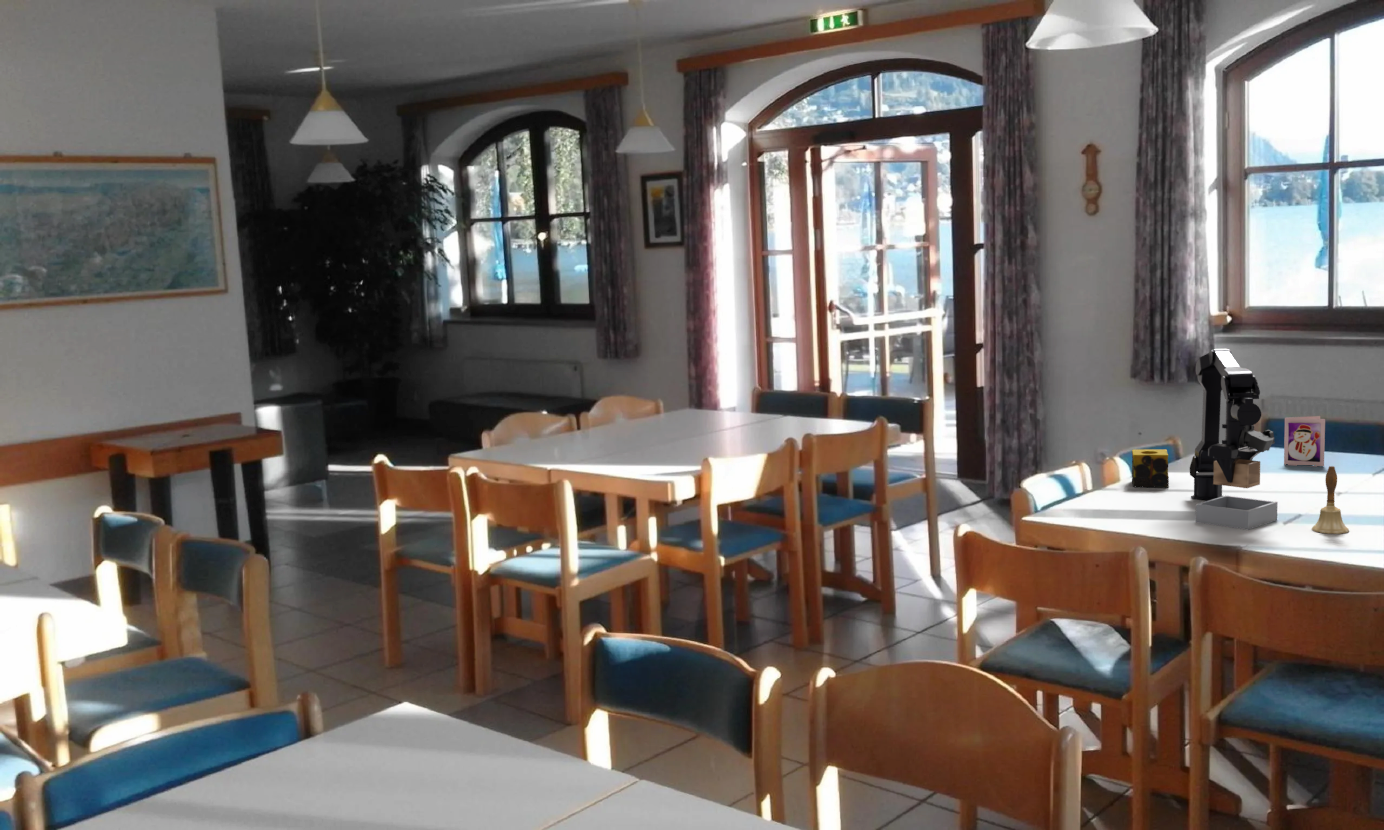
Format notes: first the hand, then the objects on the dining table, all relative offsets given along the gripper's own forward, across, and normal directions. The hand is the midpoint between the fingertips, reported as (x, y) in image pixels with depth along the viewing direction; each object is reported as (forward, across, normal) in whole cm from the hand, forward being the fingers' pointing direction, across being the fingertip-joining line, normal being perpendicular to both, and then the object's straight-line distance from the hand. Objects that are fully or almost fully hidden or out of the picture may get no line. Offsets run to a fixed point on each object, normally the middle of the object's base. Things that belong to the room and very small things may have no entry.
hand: (1236, 480), depth 333 cm
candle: (+11, +30, +42) cm, 53 cm away
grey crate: (+11, 0, 0) cm, 11 cm away
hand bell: (+11, +4, -22) cm, 25 cm away
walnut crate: (+1, 0, 0) cm, 1 cm away
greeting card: (+11, +89, +24) cm, 93 cm away
